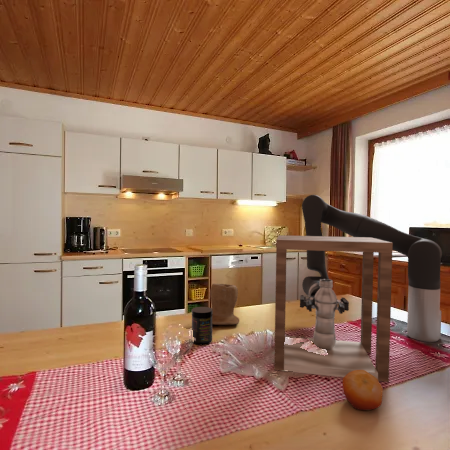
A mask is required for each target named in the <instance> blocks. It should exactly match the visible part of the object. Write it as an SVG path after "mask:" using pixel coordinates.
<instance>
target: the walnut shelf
mask: <svg viewBox="0 0 450 450" xmlns="http://www.w3.org/2000/svg"><path fill="white" fill-rule="evenodd" d="M392 245H393V243H392V242H388V241H384V240H380V239H376V238H369V237H353V236H327V235H326V236H324V235H322V236H306V235H285V234H284V235H283V234H282V235H279V234H278V236H277V238H276V246H275V247H276V248H275V249H276V250H275V253H276V254H275V255H276V256H275V259H276V262H275V302H274V303H275V309H274V312H275V313H274V314H275V315H274V316H275V317H274V356H273V357H274V359H273V361H274V365H273V367H274V369H273V370H274V371H278V370H288V371H293V372H292V373H298V374H309V375H317V376H318V375H319V376H327V377H336V378H337V377H338V378H344V377H345V376H346V374H348V373H349V372H351V371H354V370H365V371H367V372H368V373H369V374H371V375H373V376H375V377H376V378H377V379H378V381H379V382H385V383H389V382H390V349H391V346H390V345H391V319H392V317H391V315H392V314H391V312H392V311H391V310H392V309H391V307H392V281H393V280H392V279H393V277H392V276H393V275H392V272H393V271H392V270H393V250H392ZM287 250H288V251H289V250H291V251H307V250H315V251H325V252H350V253H354V252H355V253H362V265H361V266H362V271H361V272H362V273H361V276H362V278H361V305H360V306H361V309H360V311H361V313H360V314H361V315H360V341H353V340H352V341H351V340H350V341H349V340H337V339H336V343H335V346H334V347H333V348H332V349H326V350H327V353H328V355H325V356H324V355H320V354H316V353H313V352H308V351H307V350H305V349H302V348H300V347H301V346H302V344H304V342H300V343H296V344H293V345H288V344H285V345H284V342H285V336H286V308H287V307H286V299H287V295H286V294H287V291H286V290H287V253H288V252H287ZM374 253H378V255H377V256H378V259H377V260H378V261H377V262H378V263H377V291H376V292H377V295H376V296H377V297H376V330H375V331H376V339H375V340H376V341H375V365H374V363H373V362H372V360H371V358H370V356H369V355H368V354H369V353H370V354H371V353H372V333H373V331H372V329H373V293H374V292H373V290H374V289H373V288H374V285H373V284H374V259H375V258H374V256H375V255H374ZM287 336H288V337H290V338H296V337H297V336H290V335H287ZM306 338H307V339H309V340H310V341H312V342H313V343H314V340H313V337H306ZM288 371H287V372H288Z"/></svg>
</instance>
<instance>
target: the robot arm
mask: <svg viewBox="0 0 450 450" xmlns="http://www.w3.org/2000/svg"><path fill="white" fill-rule="evenodd" d="M301 210H302V216H303V219H304V228H305V236H323V231H322V224H325V225H328V226H331V227H333V228H336V229H337V230H339V231H341V232H343V233H345V234H346V235H349V237H369V238H376V239H380V240H384V241H388V242H392V243H393V245H392V251H394V252H398V253H400V254H402V255H403V256H405V257H407V279H408V286H407V287H408V290H407V291H408V292H407V293H408V295H407V296H408V297H407V324H406V325H407V326H406V335H407V336H408V337H410V338H411V339H415V340H417V341H421V342H426V343H427V342H428V343H431V342H433V343H435V342H438V341H439V340H440V339H441V337H442V332H441V331H442V310H441V307H440V306H441V258H442V255H443V251H442V248H441V247H440V245H439V244H438V243H437V242H435V241H433V240H431V239H427V238H423V237H419V236H415V235H413V234H409V233H406V232H404V231H401V230H399V229H397V228H395V227H392V225H391V226H390V225H389V224H387V223H385V222H382V221H380V220H377V219H376V218H373V217H371V216H368V215H364V214H362V213H356V212H353V211H352V212H351V211H345V210H341V209H339V208H336V207H334V206H332V205H330V204H329V203H327V202H325V200H324V199H323V197H321V196H319V195H317V194H309V195H308V196H306V197H305V198H304V199H303V201H302V203H301ZM326 267H327V265H326V251H315V250H306V268H307V269H308V270H310V271H313V272H316V273H319V275H320V276H319V275H318V276H312V275H311V276H310V275H308V276H306V277H304V278H303V280H302V285H301V286H302V287H301V288H302V290H303V292H304V294H305V295H307V296H308V297H307V296H305V295H304V294H300V296H299V298H300V299H299V308H302V309H303V308H305V309H306V311H309V312H313V311H312V310H313V309H315V310H316V307H315V294H316V293H317V291H318V290H319V289H320V286H319V284H320V279H329V280H330V278H329V275H328V272H327V268H326ZM349 306H350V302H349V301H348V300H347V298H345V297H341V298H339V299H338V298H337V304H336V309H335V311H338V313H339V314H341V315H342V314H343V313H345V311H346V312H349V309H350V307H349Z"/></svg>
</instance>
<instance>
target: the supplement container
mask: <svg viewBox="0 0 450 450" xmlns="http://www.w3.org/2000/svg"><path fill="white" fill-rule="evenodd" d="M212 319H213V309H212V307H210V306H209V307H208V306H196V307H193V308H192V309H191V331H192V330H193V337H194V343H193V344H194V345H196V346H206V345H210V344H211V343H212V342H213V325H212Z"/></svg>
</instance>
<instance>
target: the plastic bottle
mask: <svg viewBox="0 0 450 450" xmlns="http://www.w3.org/2000/svg"><path fill="white" fill-rule="evenodd" d="M333 282H334V281H333V280H332V279H330V278H329V279H320V284H319V286H320V289H319V290H318V291H317V293H316V294H315V307H316V308H315V326H314V332H313V336H312V338H313V340H314V344H315V345H316V346H317V347H319V348H322V349H332V348H333V347H334V346H335V343H336V340H337V337H336V330H335V315H336V310H335V309H336V304H337V299H338V298H337V294H336V293H335V291H334V290H333V288H334V287H333V286H334V285H333Z"/></svg>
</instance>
